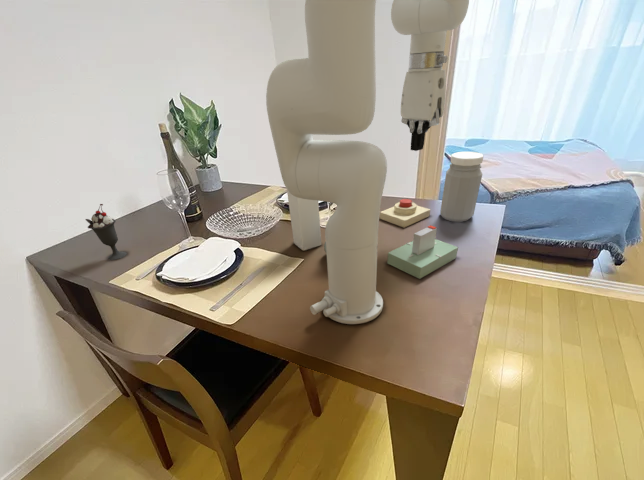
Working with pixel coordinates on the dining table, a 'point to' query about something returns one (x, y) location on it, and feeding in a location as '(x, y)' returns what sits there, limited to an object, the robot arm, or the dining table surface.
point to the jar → (461, 186)
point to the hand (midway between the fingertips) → (416, 149)
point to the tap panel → (422, 258)
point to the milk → (305, 222)
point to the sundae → (105, 232)
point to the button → (405, 203)
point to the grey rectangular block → (424, 240)
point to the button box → (404, 214)
